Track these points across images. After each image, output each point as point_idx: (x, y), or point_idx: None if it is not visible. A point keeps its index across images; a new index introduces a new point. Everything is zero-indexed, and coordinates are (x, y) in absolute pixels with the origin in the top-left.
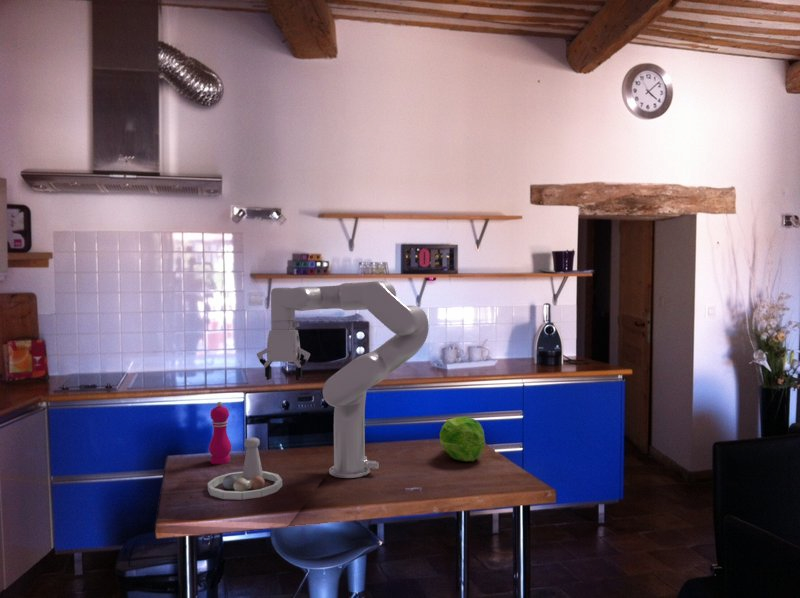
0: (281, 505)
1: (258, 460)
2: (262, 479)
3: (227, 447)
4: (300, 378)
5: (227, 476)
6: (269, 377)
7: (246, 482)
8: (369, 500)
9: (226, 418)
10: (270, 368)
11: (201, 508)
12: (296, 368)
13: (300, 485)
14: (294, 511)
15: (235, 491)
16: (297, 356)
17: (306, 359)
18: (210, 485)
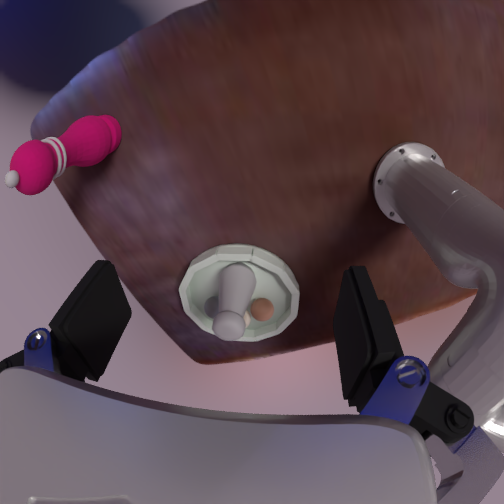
0: (311, 330)
1: (248, 303)
2: (271, 316)
3: (104, 149)
4: (363, 267)
5: (211, 317)
6: (123, 310)
7: (249, 323)
8: (421, 304)
9: (54, 166)
10: (83, 338)
11: (212, 339)
12: (349, 401)
13: (325, 259)
14: (330, 342)
15: (243, 337)
16: (387, 463)
17: (454, 443)
18: (194, 319)
